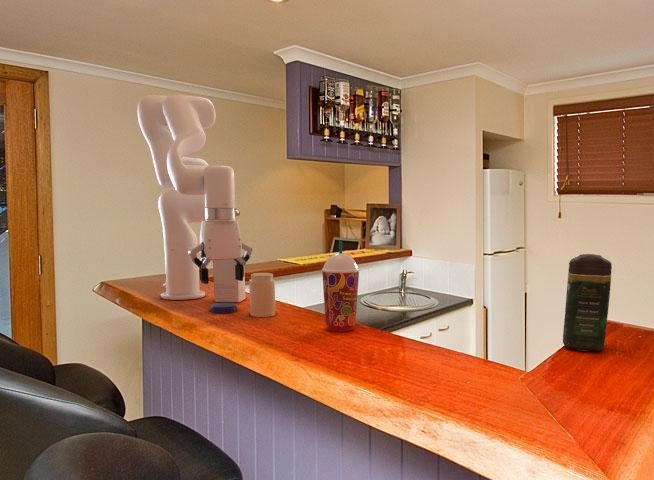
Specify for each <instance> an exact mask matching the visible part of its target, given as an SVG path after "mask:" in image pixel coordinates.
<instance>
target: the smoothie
mask: <svg viewBox="0 0 654 480" xmlns="http://www.w3.org/2000/svg"><path fill="white" fill-rule="evenodd" d="M321 272H322V289H323V291H322V292H323V304H324V320H325V325H327V329H328V330H329V331H331V332H337V333H345V332H351V331H352V330H354V325H356V321H357V309H358V308H357V307H358V294H359V293H358V292H359V280H360V279H359V278H360V268H359V267H358V264H357V262H356V261H355V258H353V257H352V256H351V255H349V254H347V253H345V252H343V240H339V241H338V252H336V253H334V254H332V255H330V256H329V257H328V258H327V259H326V261H325V262H324V265H323V267H322V268H321Z"/></svg>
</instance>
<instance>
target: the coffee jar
mask: <svg viewBox="0 0 654 480" xmlns="http://www.w3.org/2000/svg"><path fill="white" fill-rule="evenodd" d="M612 264H613V263H612V262H611V261H610V260H608V259H607V258H605V257H603V256H602V255H600V254H594V253H583V254H579V255H578V256H576V257H573V258H571V259H570V260H569V262H568V269H567V271H568V273H567V283H566V296H565V309H564V310H565V311H564V319H563V320H564V321H563V323H564V324H563V329H562V330H563V332H562V343H563V346H564V347H566V348H567V349H574V350H577V351H579V352H590V351H597V352H599V351H602V350H603V349H604V348H605V344H606V336H607V325H608V315H609V309H610V308H609V306H610V297H611V287H612V286H611V284H612V269H613V267H612ZM568 343H569V344H568ZM567 344H568V345H567Z"/></svg>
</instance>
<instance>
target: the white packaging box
mask: <svg viewBox="0 0 654 480" xmlns="http://www.w3.org/2000/svg"><path fill="white" fill-rule="evenodd" d="M242 256H243V255H241V257H242ZM235 265H237V263H236V262H235V261H234V259H229V260H212V273H213V276H212V277H213V292H214V294H213V295H214V302H215V303H240V302H242V301H244V300H246V296H247V295H246V274H245V273H246V271H245V269H244V277H243V281H239V280H236V279H235Z"/></svg>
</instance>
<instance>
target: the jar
mask: <svg viewBox="0 0 654 480" xmlns="http://www.w3.org/2000/svg"><path fill="white" fill-rule="evenodd" d="M248 282H249V283H248V284H249V285H248V289H249V315H250V316H251V317H254V318H270V317H274V316H276V313H277V312H276V279H275V278H274V273H272V272H254V273H251V274H250V278H249V279H248Z"/></svg>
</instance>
